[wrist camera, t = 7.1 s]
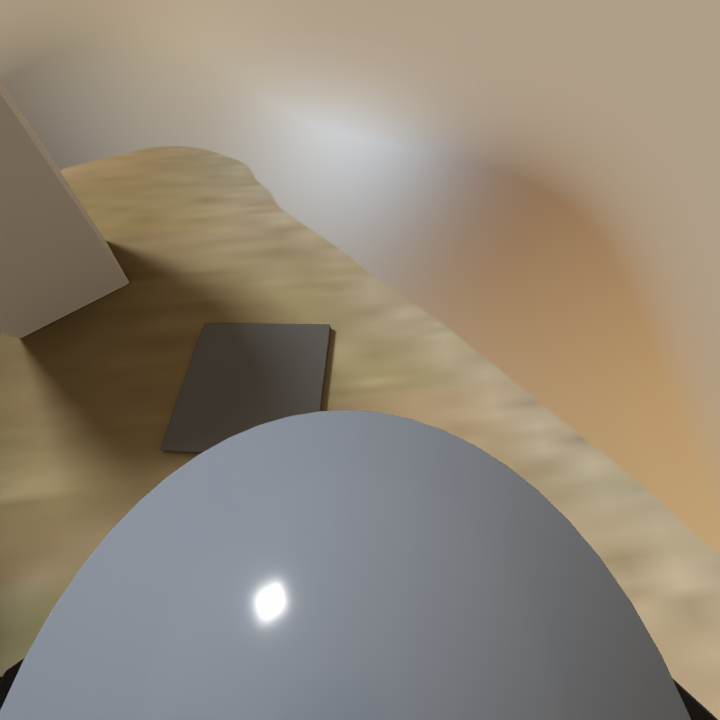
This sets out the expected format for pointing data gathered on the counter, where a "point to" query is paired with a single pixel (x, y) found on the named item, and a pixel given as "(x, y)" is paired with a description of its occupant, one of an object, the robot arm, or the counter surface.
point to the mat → (247, 381)
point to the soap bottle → (44, 235)
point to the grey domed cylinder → (344, 593)
